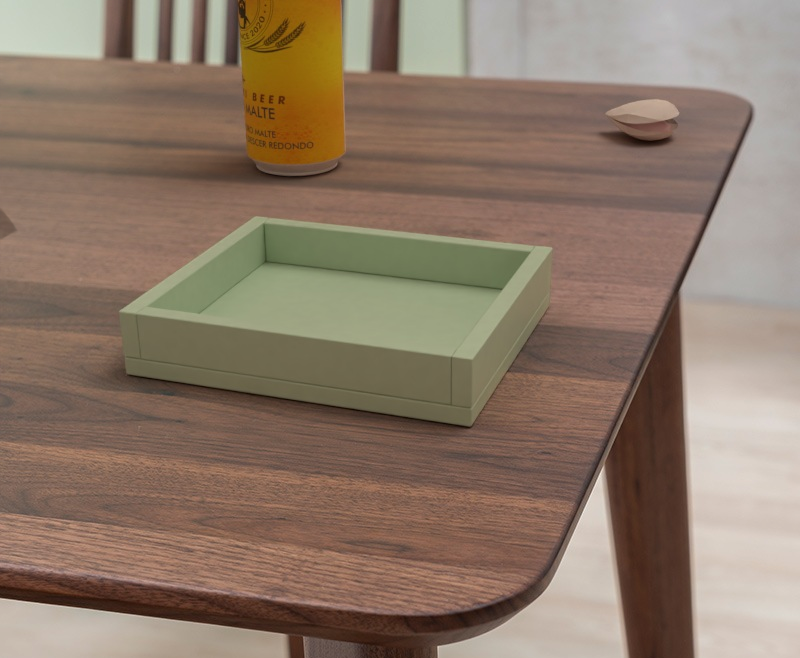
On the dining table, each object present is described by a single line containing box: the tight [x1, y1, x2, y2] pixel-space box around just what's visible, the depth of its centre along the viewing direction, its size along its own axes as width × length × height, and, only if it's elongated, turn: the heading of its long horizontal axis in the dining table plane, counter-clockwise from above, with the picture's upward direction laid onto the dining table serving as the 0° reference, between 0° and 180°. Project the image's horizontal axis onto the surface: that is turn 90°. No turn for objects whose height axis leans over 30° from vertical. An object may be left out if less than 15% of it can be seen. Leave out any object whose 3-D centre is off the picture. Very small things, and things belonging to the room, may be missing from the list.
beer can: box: [236, 0, 347, 177], centre depth 75 cm, size 6×6×15 cm
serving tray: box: [118, 215, 554, 428], centre depth 53 cm, size 15×13×3 cm
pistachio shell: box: [605, 98, 680, 142], centre depth 83 cm, size 4×5×2 cm
